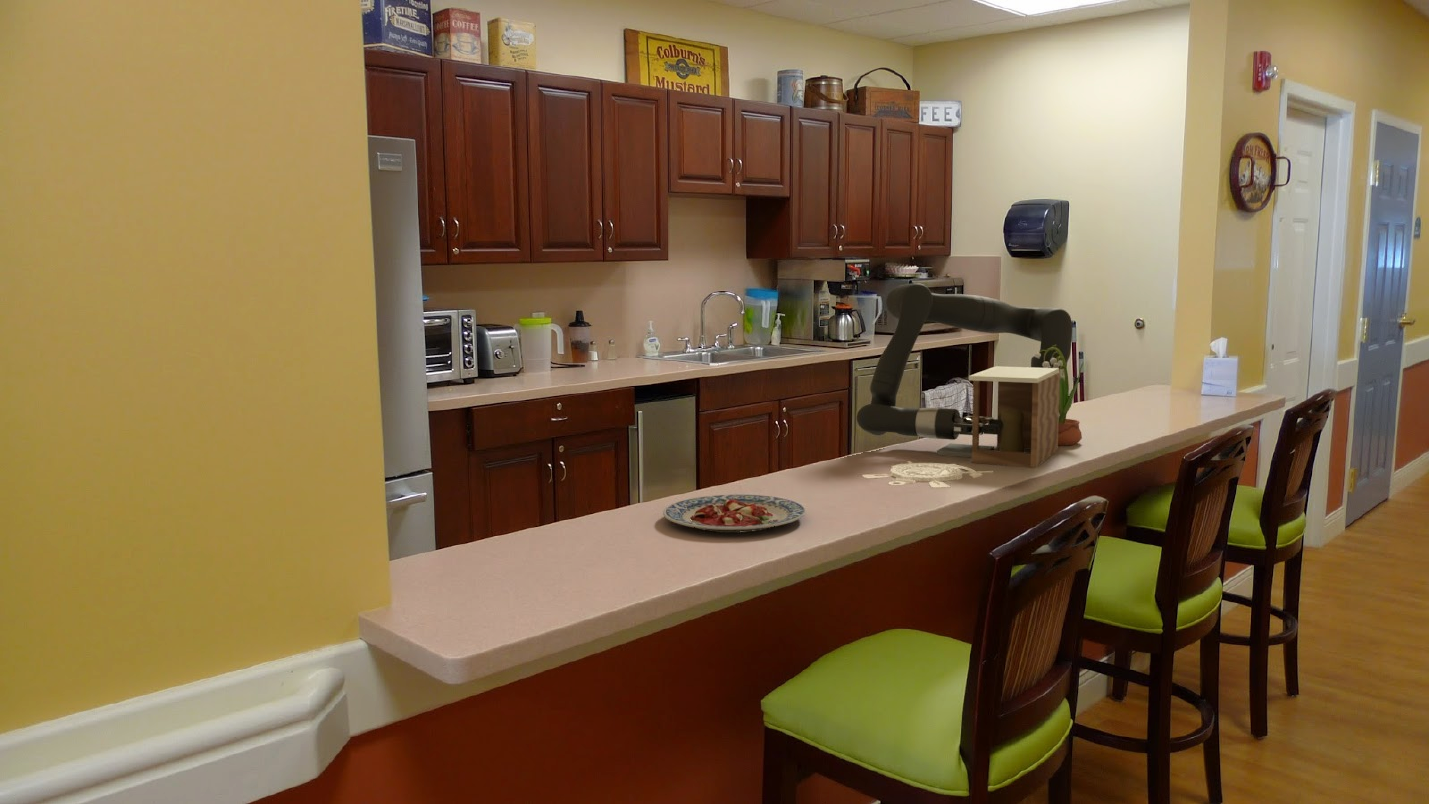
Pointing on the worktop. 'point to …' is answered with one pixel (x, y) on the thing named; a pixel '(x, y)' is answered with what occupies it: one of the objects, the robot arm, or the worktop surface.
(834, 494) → the worktop surface
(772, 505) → the ceramic plate
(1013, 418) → the cork
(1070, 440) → the potted flower
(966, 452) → the slate mat
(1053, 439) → the wooden cabinet
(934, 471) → the pendant
